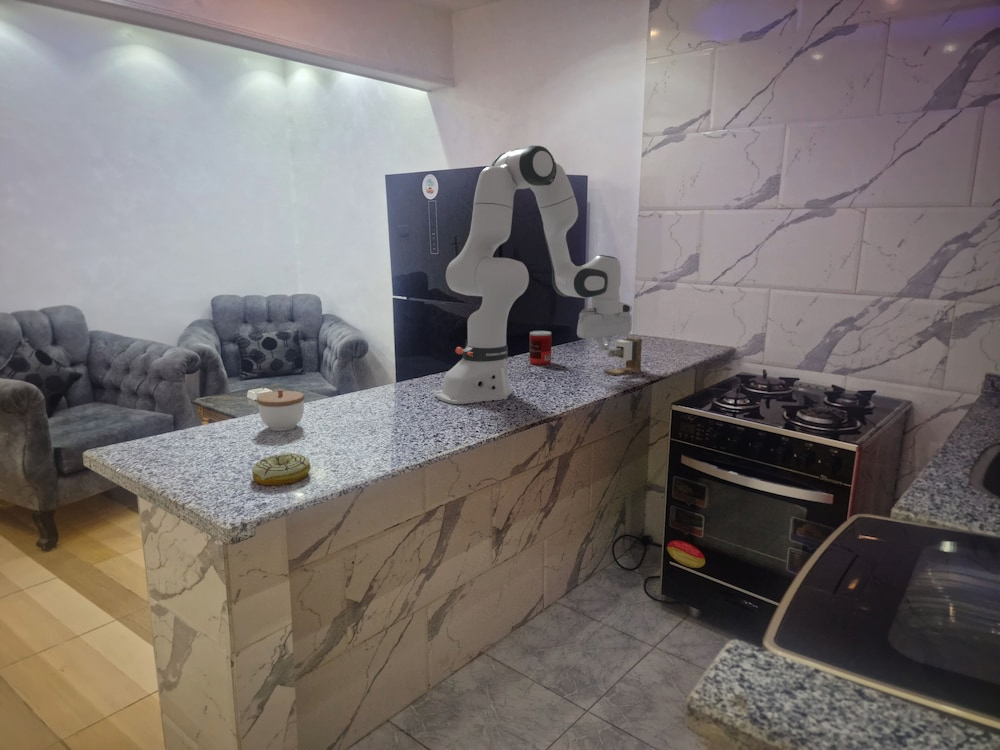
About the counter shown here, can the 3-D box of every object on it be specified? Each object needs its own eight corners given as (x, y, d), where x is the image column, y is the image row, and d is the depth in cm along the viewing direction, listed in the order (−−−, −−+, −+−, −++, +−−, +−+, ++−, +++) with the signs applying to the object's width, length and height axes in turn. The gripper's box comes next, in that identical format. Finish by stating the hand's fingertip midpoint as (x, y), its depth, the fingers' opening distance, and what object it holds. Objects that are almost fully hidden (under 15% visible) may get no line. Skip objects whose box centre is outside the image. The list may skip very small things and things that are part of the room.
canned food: (551, 361, 238) (551, 330, 235) (550, 365, 230) (551, 334, 227) (530, 360, 238) (530, 330, 236) (528, 365, 231) (529, 334, 228)
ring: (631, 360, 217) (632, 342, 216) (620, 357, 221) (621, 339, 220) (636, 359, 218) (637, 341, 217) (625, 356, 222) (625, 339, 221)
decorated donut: (247, 475, 131) (245, 457, 130) (301, 464, 136) (300, 447, 135) (260, 492, 122) (258, 473, 121) (317, 480, 128) (316, 461, 127)
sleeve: (624, 361, 215) (625, 342, 214) (614, 358, 220) (614, 340, 218) (631, 360, 217) (632, 342, 216) (620, 357, 221) (621, 339, 220)
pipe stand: (613, 375, 214) (615, 342, 212) (603, 373, 218) (604, 340, 216) (641, 371, 220) (642, 338, 218) (630, 368, 224) (631, 336, 222)
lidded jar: (315, 424, 163) (312, 387, 161) (281, 436, 154) (278, 397, 152) (284, 418, 168) (282, 382, 166) (250, 429, 159) (246, 391, 157)
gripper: (586, 309, 202) (584, 354, 205) (635, 306, 212) (633, 348, 215) (573, 307, 207) (572, 351, 210) (622, 304, 218) (620, 346, 220)
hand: (603, 350), depth 213 cm, fingers closed
